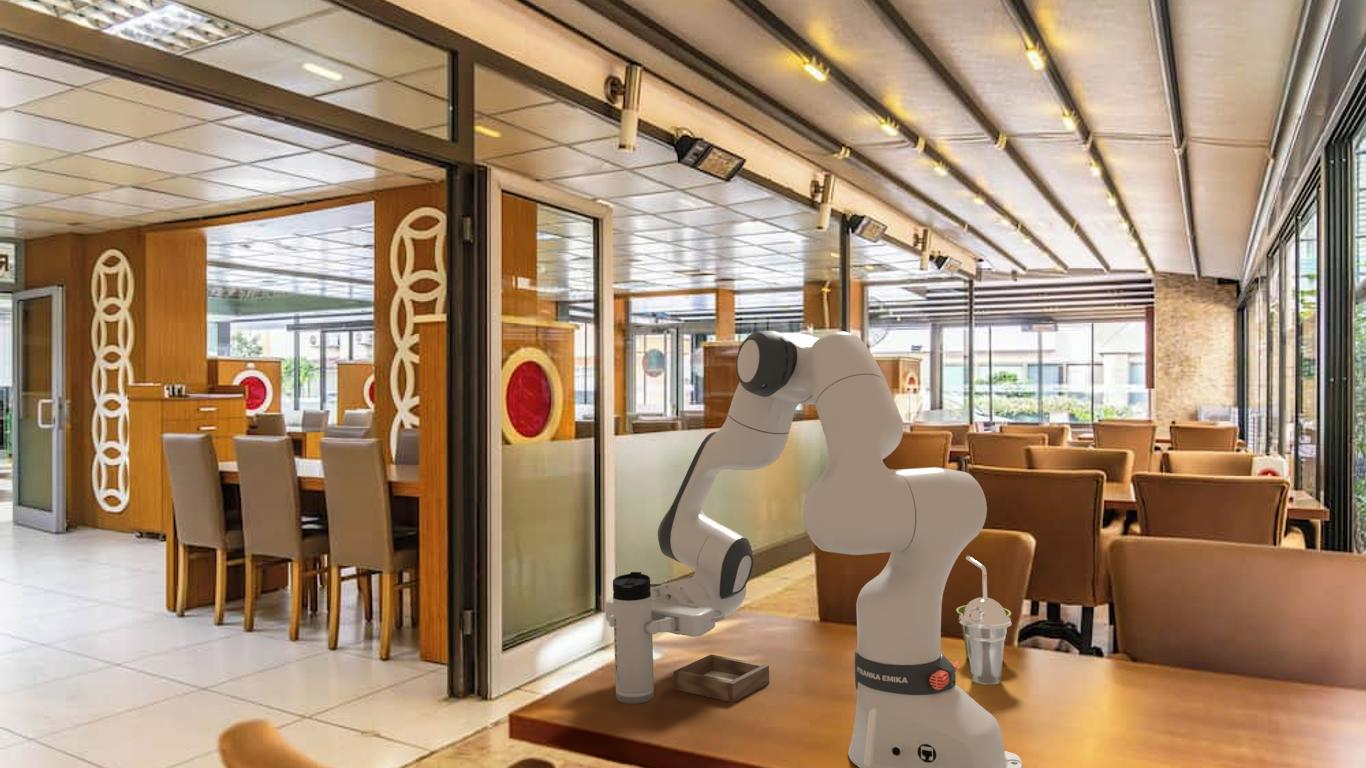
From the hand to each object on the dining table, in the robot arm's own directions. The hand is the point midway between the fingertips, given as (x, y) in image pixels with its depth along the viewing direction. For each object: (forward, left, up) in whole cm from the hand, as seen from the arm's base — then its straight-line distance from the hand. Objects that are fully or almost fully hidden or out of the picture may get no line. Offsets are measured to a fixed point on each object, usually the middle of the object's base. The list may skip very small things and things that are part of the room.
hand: (629, 625), depth 152 cm
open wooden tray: (-9, -13, -12) cm, 20 cm away
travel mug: (0, -1, -12) cm, 12 cm away
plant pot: (-41, -50, -12) cm, 66 cm away
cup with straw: (-45, -39, -12) cm, 61 cm away
